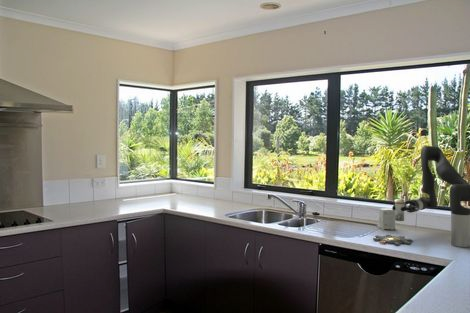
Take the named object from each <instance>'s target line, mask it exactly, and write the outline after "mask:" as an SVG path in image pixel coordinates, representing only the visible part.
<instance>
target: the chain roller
mask: <svg viewBox="0 0 470 313" xmlns="http://www.w3.org/2000/svg"><path fill="white" fill-rule="evenodd" d="M404 203H405V199H401V198H398V199H397V198H396V199H394V204H395V222H404V221H405V211H401V208H402V207H404Z"/></svg>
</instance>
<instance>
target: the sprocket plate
mask: <svg viewBox="0 0 470 313" xmlns="http://www.w3.org/2000/svg"><path fill="white" fill-rule="evenodd" d="M375 237H376V238H375ZM373 240H377V241H376V242H379V244H380V243H382V244H381V245H386V243H388V245H393V246H396V247H401V246H400V245H407V246H410V244H411V245H412V243H413V241H414V240H413V239H412V238H405V236H404V235H399V236H397V235H391V234H385V235H379V234H377V235H375V236H374V237H373V238H372V241H373Z"/></svg>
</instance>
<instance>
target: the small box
mask: <svg viewBox="0 0 470 313" xmlns="http://www.w3.org/2000/svg"><path fill="white" fill-rule="evenodd" d="M379 227H380V228H382V229H381V230H383V229H391V230H396V220H395V210H393V209H392V208H390V207H386V208H378V228H379ZM380 228H379V229H380Z"/></svg>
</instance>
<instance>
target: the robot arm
mask: <svg viewBox="0 0 470 313" xmlns="http://www.w3.org/2000/svg"><path fill="white" fill-rule="evenodd" d="M431 161H432V162H436V163H437V165H436V168H435V171H436V174H437V175H438V176H439V178H440V179H441V180H443V182H445V183H447V184H449V185H451V186H450V188H449V207H450V208H449V209H450V245H451V246H454V247H459V248H467V249H468V248H470V208H468V207H466V206H463V205H462V204H461V203H462V202H470V183H469V182H468V181H467V180H466V179H465V178H463V176H462V175H461V174H460V173H459V172H458V171H457V170H456V168H455V167H454V166H453V165H452V164H451V163H450V161H449V160H448V158H447V157H446V155H445V154H444V152H443V151H442V149H441V148H440V147H438V146H436V145H435V146H433V145H424V146H422V147H421V149H420V163H421V173H422V187H421V188H422V191H421V192H422V193H424V194H426V195H428V196H421V197H419V198H413V199H408V200H406V201H404V207H402V208H401V211H404V212H407V213H410V214H411V213H416V212H420V211H423V210H425V209H431V210H434V209H436V208H437V207H438V198H437V195H436V190H435V188H436V178H435V177H434V174H433V173H432V171H431V169H430V166H429V162H431ZM391 209H393V210H395V203H394V204H393V206H392V208H391Z"/></svg>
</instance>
